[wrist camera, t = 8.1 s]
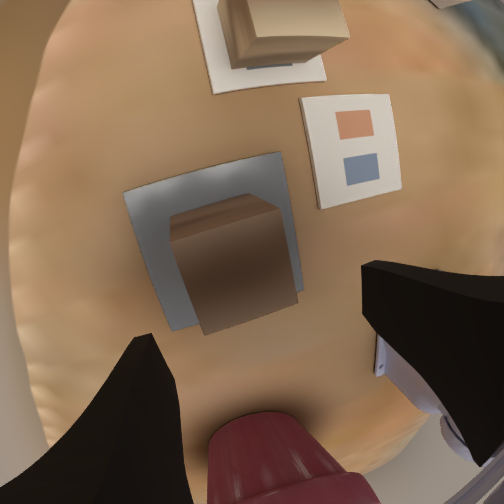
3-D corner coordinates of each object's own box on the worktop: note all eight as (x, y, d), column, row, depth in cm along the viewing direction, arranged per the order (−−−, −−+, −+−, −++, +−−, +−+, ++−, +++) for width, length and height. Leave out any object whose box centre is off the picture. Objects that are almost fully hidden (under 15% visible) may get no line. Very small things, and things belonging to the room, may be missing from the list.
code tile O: (323, 81, 15) (327, 80, 15) (212, 95, 14) (214, 93, 14) (298, -8, 13) (301, -10, 12) (191, -3, 12) (191, -6, 11)
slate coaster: (300, 286, 20) (304, 289, 19) (171, 327, 18) (172, 331, 18) (277, 151, 16) (280, 151, 16) (124, 191, 15) (122, 193, 14)
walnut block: (265, 264, 18) (298, 302, 13) (194, 287, 17) (204, 335, 12) (248, 192, 16) (280, 208, 12) (170, 216, 15) (169, 242, 11)
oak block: (304, 62, 14) (350, 37, 10) (231, 69, 14) (256, 37, 9) (288, 3, 13) (325, -34, 8) (216, 6, 12) (235, -39, 7)
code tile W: (398, 188, 19) (401, 189, 19) (318, 208, 18) (321, 209, 18) (385, 94, 17) (389, 94, 16) (298, 98, 15) (301, 97, 15)
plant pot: (332, 434, 28) (385, 515, 16) (225, 481, 26) (253, 567, 15) (298, 364, 22) (381, 491, 10) (152, 430, 21) (167, 560, 9)
